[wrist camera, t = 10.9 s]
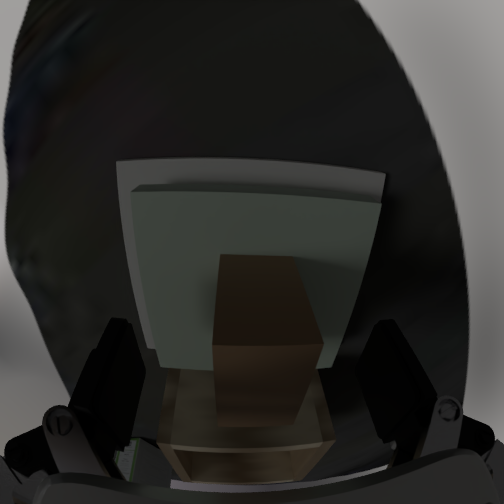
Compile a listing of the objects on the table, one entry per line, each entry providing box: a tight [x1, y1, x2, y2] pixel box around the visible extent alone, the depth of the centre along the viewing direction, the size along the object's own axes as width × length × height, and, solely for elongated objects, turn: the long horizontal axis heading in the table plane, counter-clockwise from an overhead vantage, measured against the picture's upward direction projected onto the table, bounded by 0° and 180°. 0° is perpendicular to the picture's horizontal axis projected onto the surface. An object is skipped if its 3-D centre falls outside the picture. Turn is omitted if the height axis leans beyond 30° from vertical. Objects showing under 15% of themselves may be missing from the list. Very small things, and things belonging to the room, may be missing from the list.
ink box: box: [115, 438, 172, 488], centre depth 21 cm, size 7×4×13 cm, turn 24°
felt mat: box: [116, 157, 386, 349], centre depth 15 cm, size 13×12×1 cm
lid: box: [130, 184, 382, 427], centre depth 11 cm, size 10×10×7 cm
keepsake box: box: [156, 368, 336, 484], centre depth 17 cm, size 10×10×7 cm
